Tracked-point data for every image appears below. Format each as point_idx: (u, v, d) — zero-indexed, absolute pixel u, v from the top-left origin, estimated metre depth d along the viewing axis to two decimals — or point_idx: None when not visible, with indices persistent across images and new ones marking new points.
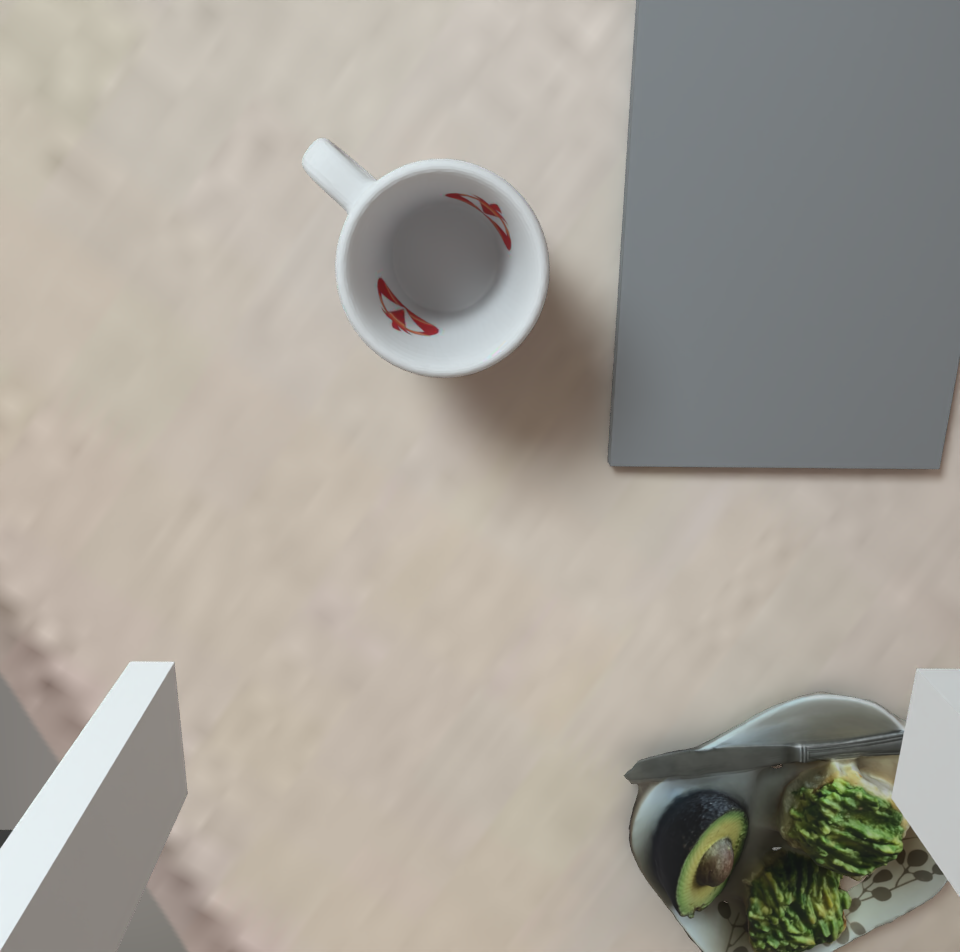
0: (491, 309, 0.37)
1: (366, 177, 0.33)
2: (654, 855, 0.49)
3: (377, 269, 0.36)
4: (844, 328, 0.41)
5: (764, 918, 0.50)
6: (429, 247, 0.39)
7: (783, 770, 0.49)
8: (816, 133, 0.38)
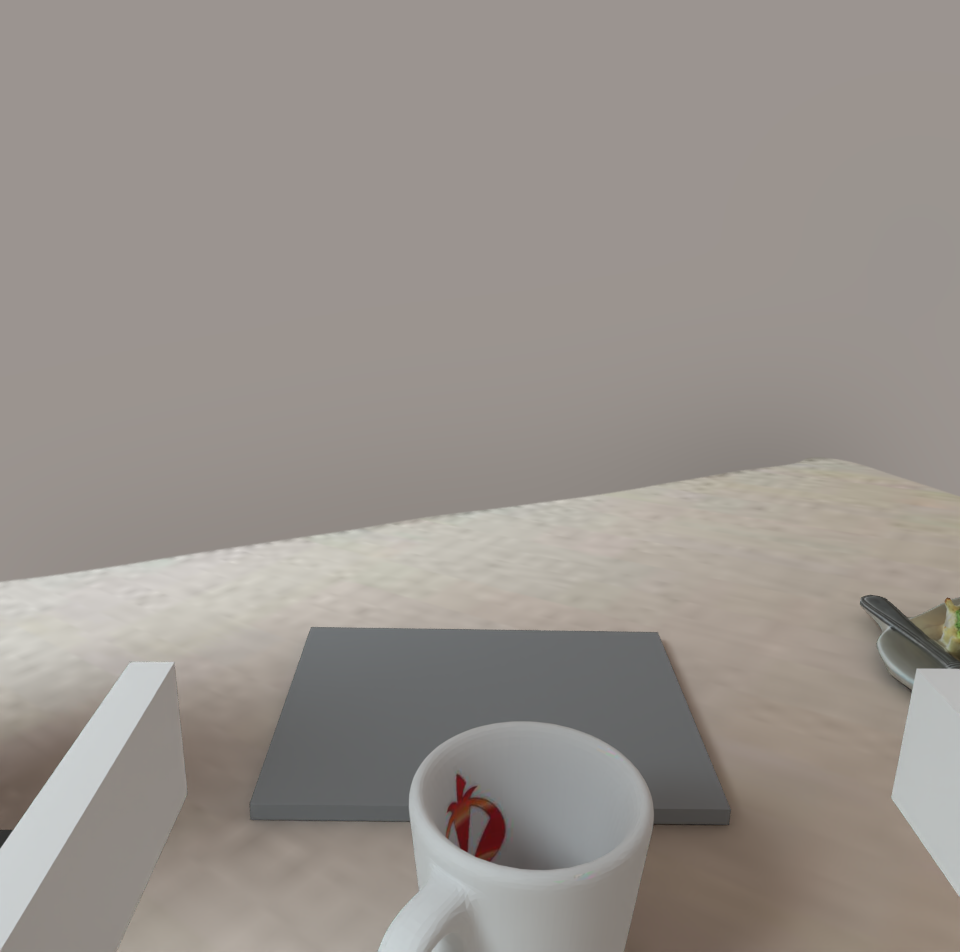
0: (573, 845, 0.32)
1: None
2: None
3: None
4: (555, 680, 0.49)
5: None
6: None
7: None
8: (400, 703, 0.46)
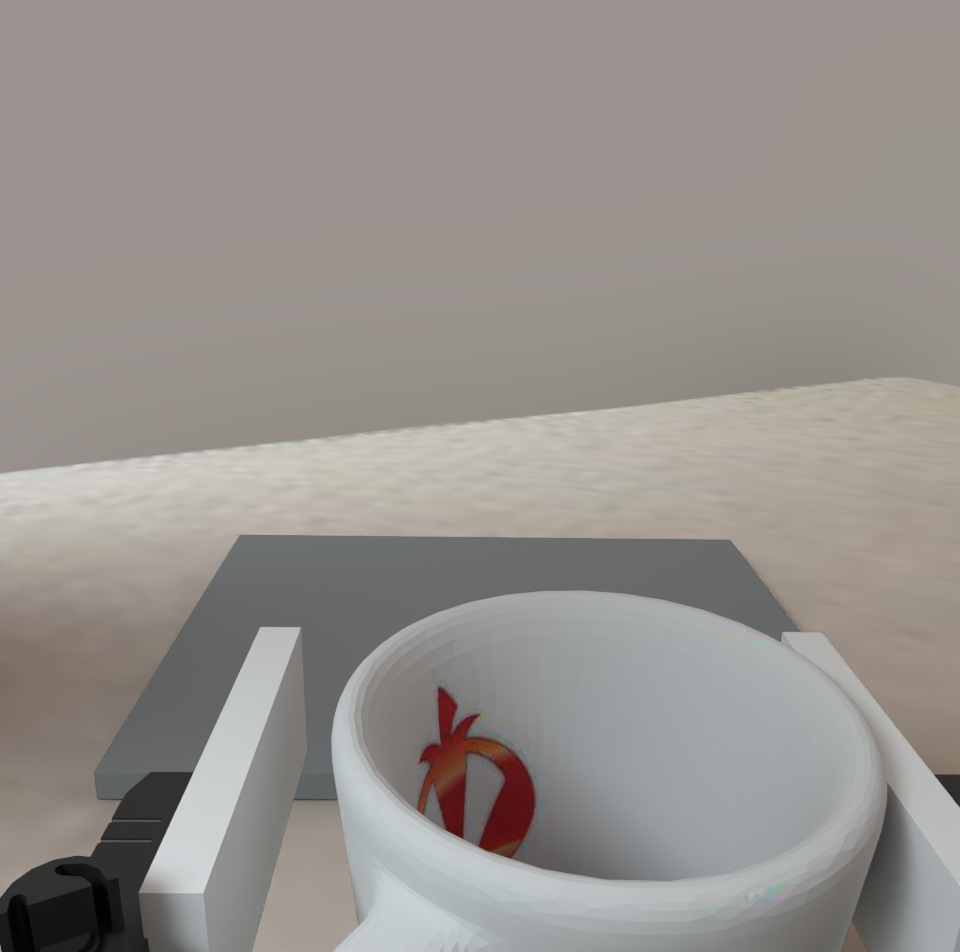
0: (669, 828, 0.17)
1: None
2: None
3: None
4: None
5: None
6: None
7: None
8: (360, 625, 0.30)
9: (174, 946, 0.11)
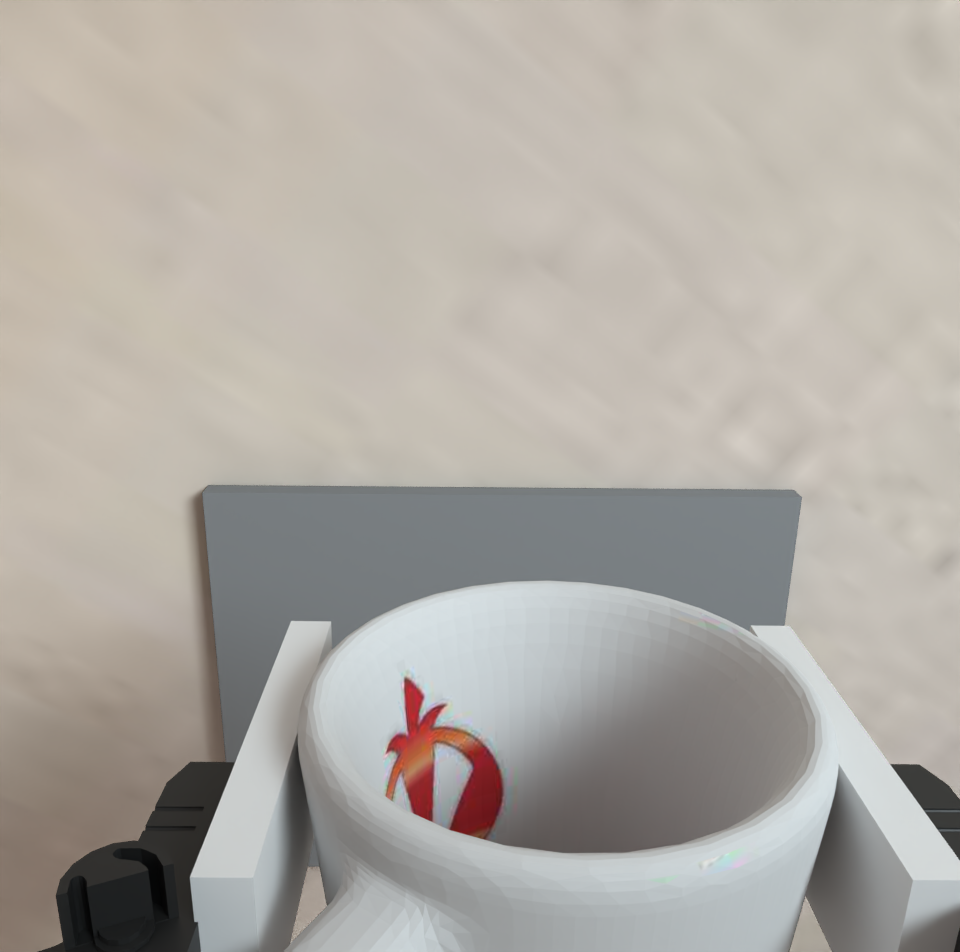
0: (634, 811, 0.17)
1: None
2: None
3: None
4: None
5: None
6: None
7: None
8: None
9: (224, 929, 0.11)
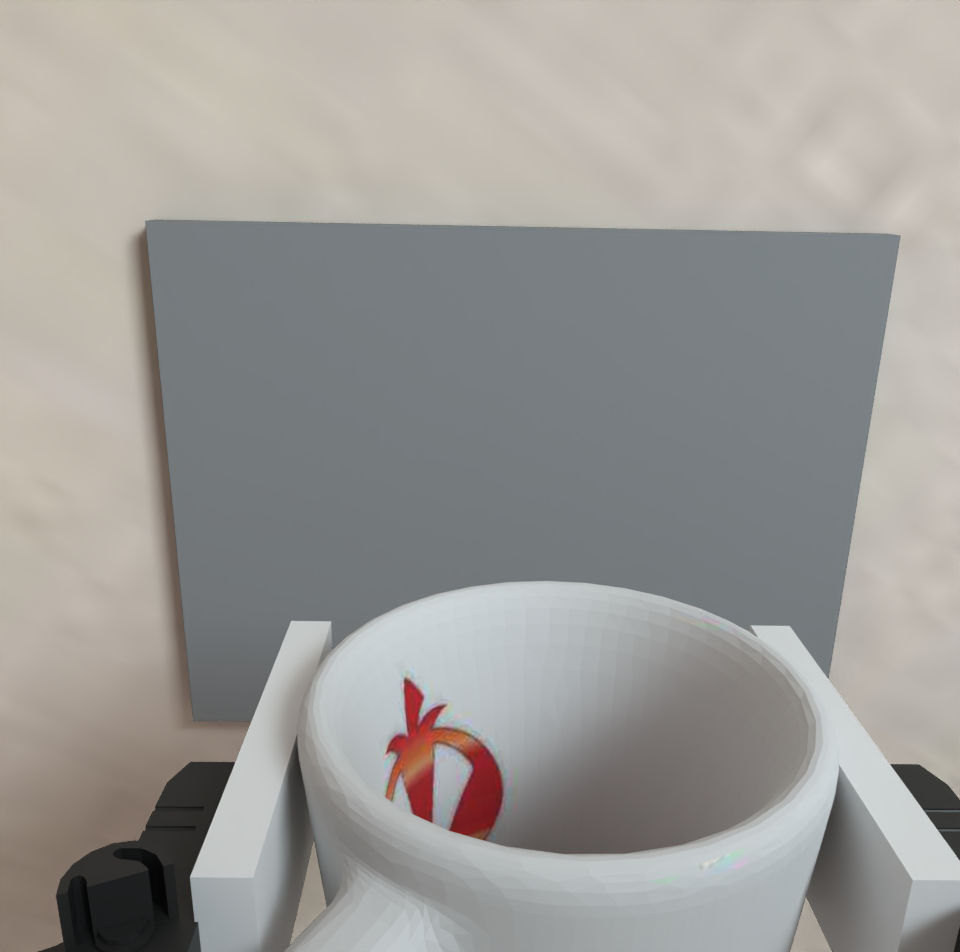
0: (634, 812, 0.17)
1: None
2: None
3: None
4: (393, 569, 0.28)
5: None
6: None
7: None
8: (664, 500, 0.27)
9: (224, 930, 0.11)
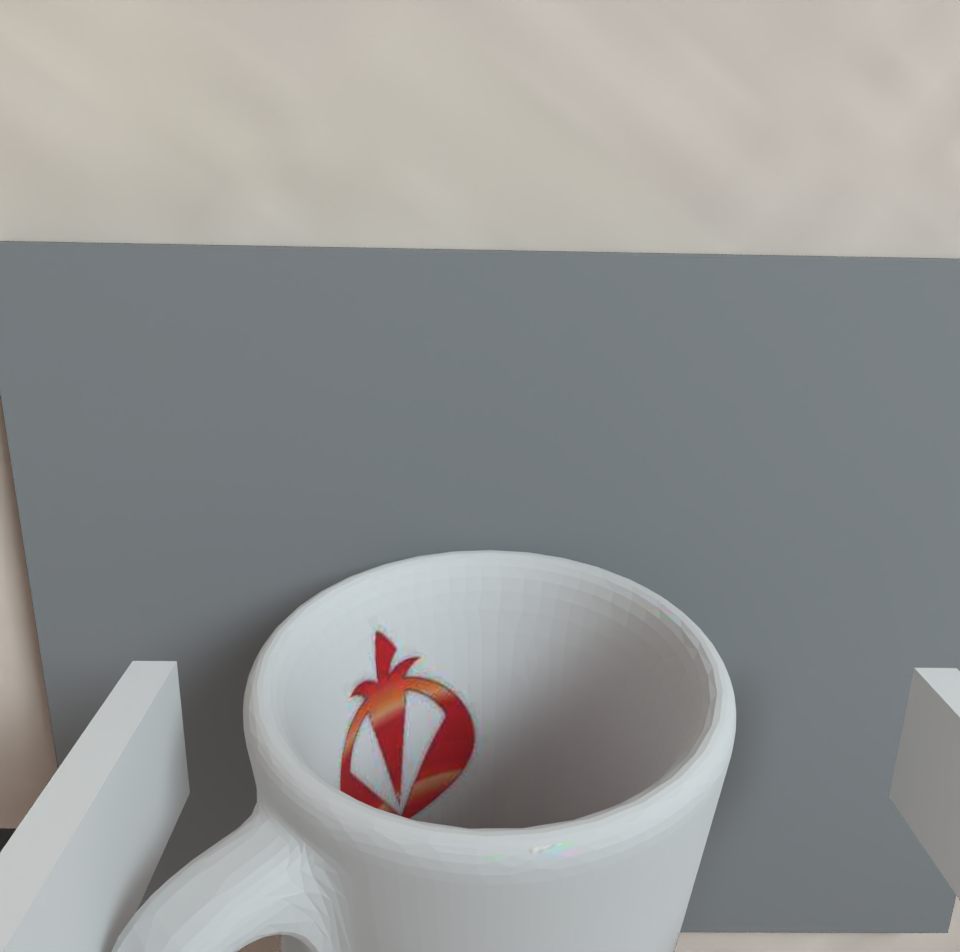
0: (590, 774, 0.18)
1: None
2: None
3: None
4: None
5: None
6: None
7: None
8: (742, 639, 0.19)
9: None
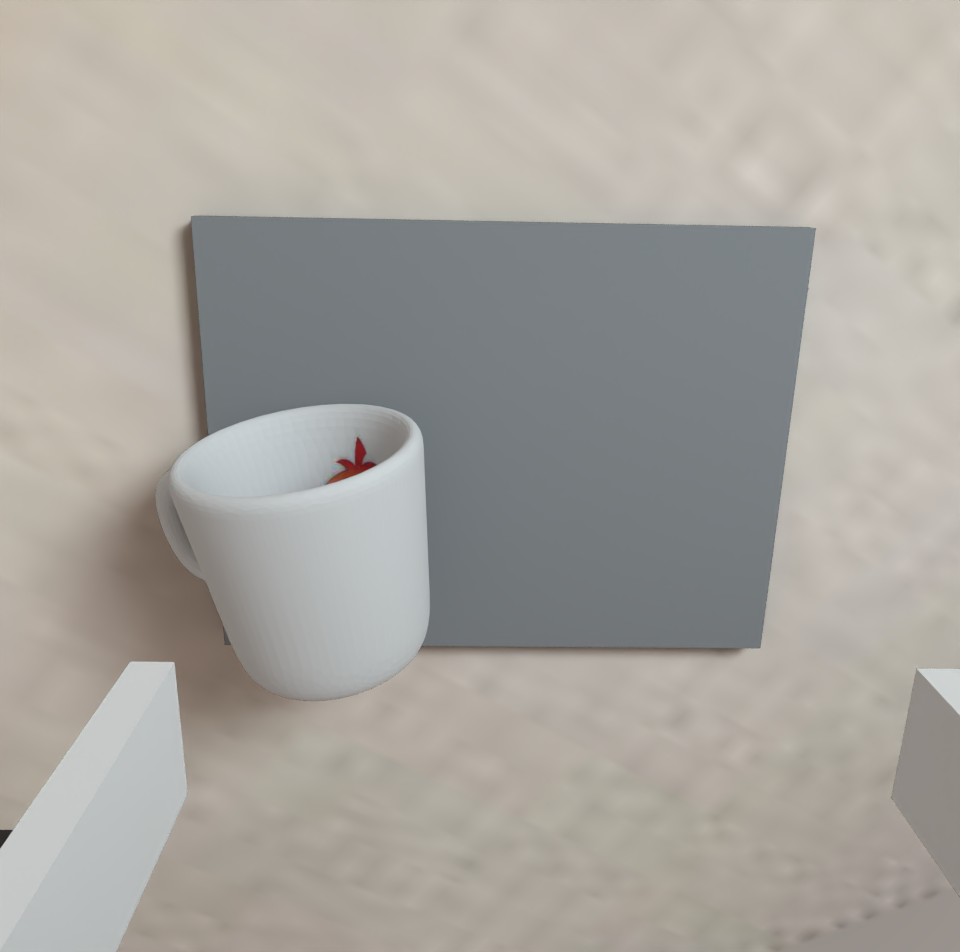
0: None
1: None
2: None
3: None
4: None
5: None
6: None
7: None
8: (624, 452, 0.33)
9: None
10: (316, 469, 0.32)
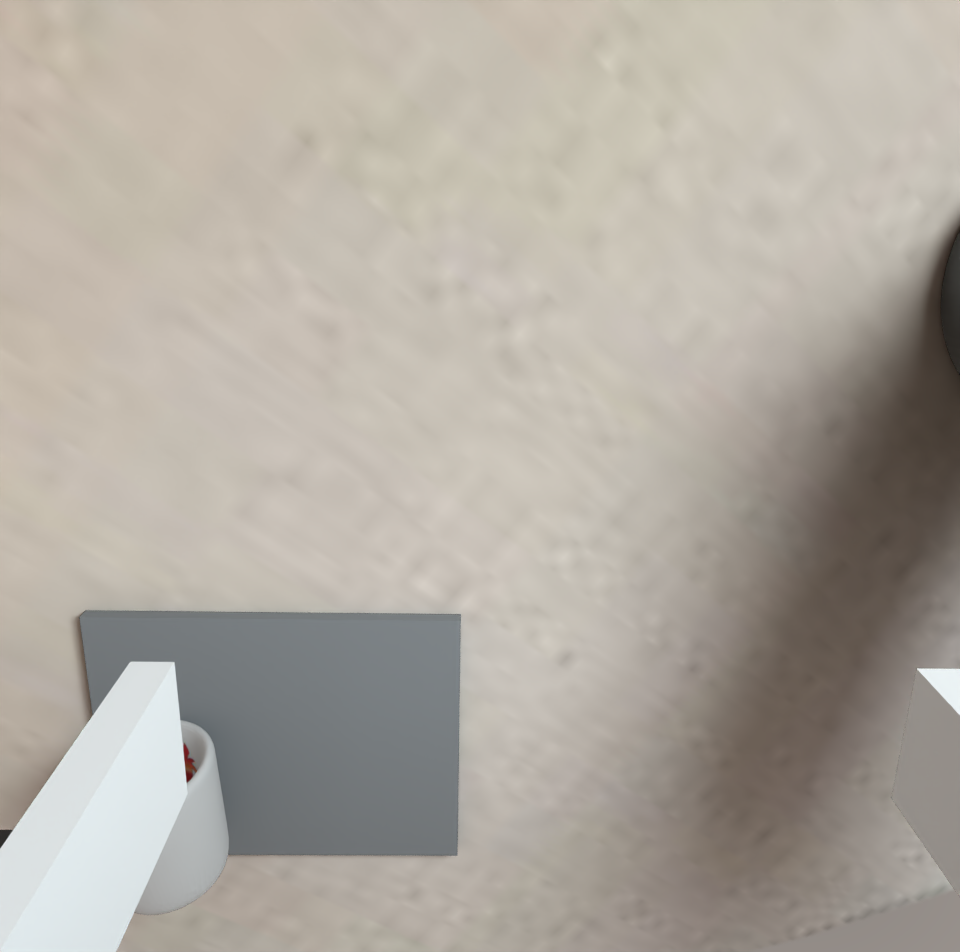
0: None
1: None
2: None
3: None
4: None
5: None
6: None
7: None
8: (356, 742, 0.52)
9: None
10: None
